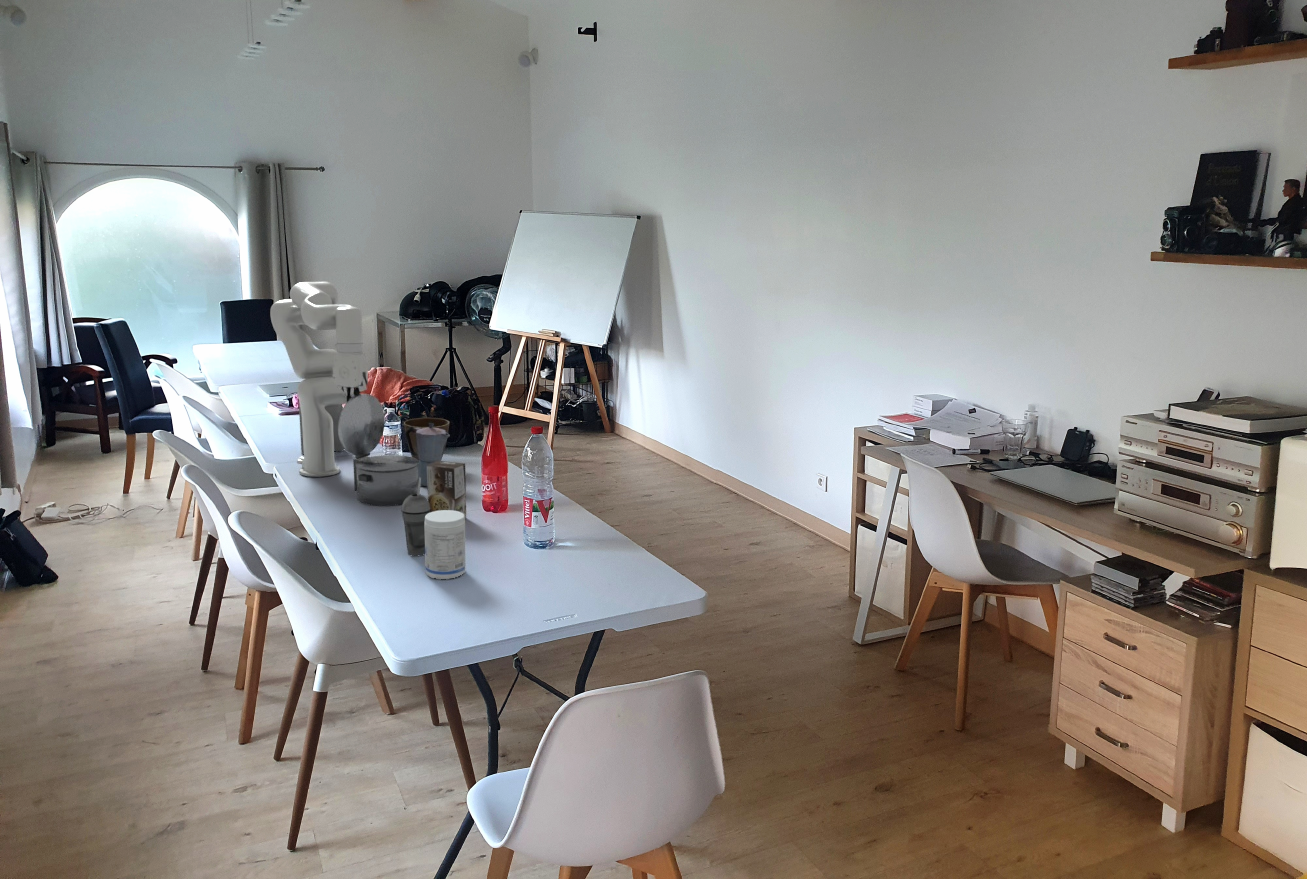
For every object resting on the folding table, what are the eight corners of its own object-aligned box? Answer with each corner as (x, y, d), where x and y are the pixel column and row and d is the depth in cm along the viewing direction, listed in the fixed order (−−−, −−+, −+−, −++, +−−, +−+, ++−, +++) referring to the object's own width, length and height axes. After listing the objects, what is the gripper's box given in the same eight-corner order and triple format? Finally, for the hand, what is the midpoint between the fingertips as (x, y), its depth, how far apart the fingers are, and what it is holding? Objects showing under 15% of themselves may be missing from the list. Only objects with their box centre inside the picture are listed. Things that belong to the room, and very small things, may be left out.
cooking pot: (334, 500, 286) (333, 465, 283) (384, 484, 305) (383, 450, 303) (388, 511, 277) (386, 474, 275) (435, 493, 297) (435, 458, 294)
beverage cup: (405, 548, 247) (402, 473, 243) (433, 548, 248) (432, 473, 243) (400, 558, 240) (397, 481, 236) (429, 558, 241) (428, 481, 236)
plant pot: (459, 467, 328) (458, 421, 325) (428, 476, 316) (427, 428, 312) (427, 460, 336) (426, 416, 332) (395, 469, 323) (394, 422, 320)
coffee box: (467, 517, 274) (466, 463, 270) (455, 524, 268) (454, 468, 264) (439, 513, 277) (438, 459, 273) (427, 519, 271) (426, 464, 267)
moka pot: (444, 489, 302) (443, 427, 297) (399, 485, 304) (397, 423, 300) (456, 481, 311) (455, 421, 306) (412, 477, 314) (410, 417, 309)
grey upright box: (341, 447, 350) (338, 393, 346) (346, 451, 346) (343, 396, 341) (299, 452, 342) (296, 397, 337) (303, 455, 337) (300, 399, 333)
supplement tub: (426, 567, 234) (425, 509, 231) (466, 565, 236) (465, 508, 233) (424, 581, 225) (423, 522, 222) (465, 580, 227) (464, 521, 224)
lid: (342, 464, 284) (334, 462, 285) (385, 451, 300) (377, 450, 302) (340, 399, 279) (332, 397, 280) (384, 390, 296) (376, 388, 297)
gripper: (321, 348, 286) (324, 408, 290) (360, 351, 280) (363, 413, 284) (339, 345, 293) (342, 404, 297) (378, 349, 286) (380, 409, 290)
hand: (352, 408), depth 290 cm, fingers closed
